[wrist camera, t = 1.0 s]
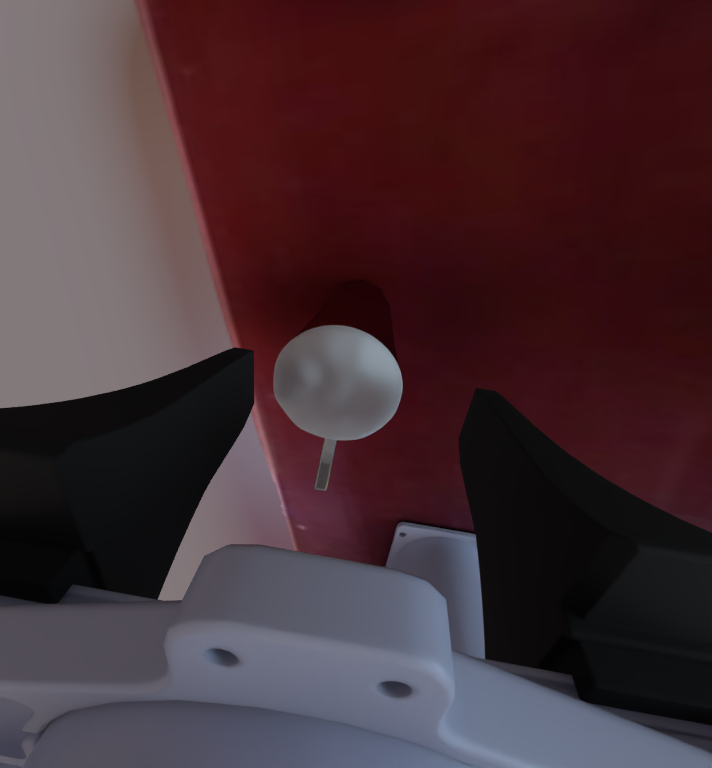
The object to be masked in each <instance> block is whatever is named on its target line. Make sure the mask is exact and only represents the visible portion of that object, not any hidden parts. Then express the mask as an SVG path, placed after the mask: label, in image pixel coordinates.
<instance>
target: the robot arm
mask: <svg viewBox="0 0 712 768" xmlns="http://www.w3.org/2000/svg"><path fill="white" fill-rule="evenodd" d="M253 405H254V351H253V350H247V349H241V348H232V349H229V350H226V351H224V352H221V353H219V354H217V355H214V356H212V357H210V358H208V359H205V360H203V361H201V362H198V363H196V364H194V365H191V366H189V367H187V368H184V369H181V370H179V371H176V372H174V373H171V374H168V375H166V376H163V377H160V378H158V379H155V380H152V381H149V382H146V383H142V384H140V385H136V386H132V387H129V388H125V389H121V390H118V391H113V392H109V393H103V394H99V395H95V396H90V397H85V398H80V399H74V400H68V401H62V402H55V403H48V404H40V405H32V406H24V407H12V408H0V768H712V533H710V532H708V531H706V530H704V529H701V528H699V527H697V526H694V525H692V524H690V523H688V522H685V521H683V520H681V519H679V518H677V517H675V516H673V515H671V514H669V513H667V512H665V511H663V510H661V509H659V508H657V507H655V506H653V505H651V504H649V503H647V502H645V501H643V500H641V499H640V498H638V497H636V496H634V495H632V494H630V493H629V492H627V491H625V490H624V489H622V488H620V487H619V486H617V485H615V484H613V483H612V482H610V481H608V480H607V479H605V478H603V477H602V476H600V475H599V474H597V473H596V472H594V471H593V470H591V469H590V468H588V467H587V466H585V465H584V464H582V463H581V462H580V461H578V460H577V459H575V458H574V457H572V456H571V455H570V454H568V453H567V452H566V451H564V450H563V449H562V448H561V447H559V446H558V445H557V444H556V443H554V442H553V441H552V440H551V439H549V438H548V437H547V436H546V435H545V434H543V433H542V432H541V431H540V430H539V429H538V428H537V427H535V426H534V425H533V424H532V423H531V422H530V421H529V420H528V419H527V418H525V417H524V416H523V415H522V414H521V413H520V412H519V411H518V410H517V409H516V408H515V407H513V406H512V405H511V404H510V403H509V402H508V401H507V400H506V399H505V398H503V397H502V396H501V395H500V394H499V393H497V392H496V391H492V390H486V389H480V388H476V390H475V393H474V396H473V399H472V401H471V404H470V407H469V410H468V413H467V416H466V418H465V421H464V424H463V427H462V430H461V433H460V436H459V454H460V465H461V470H462V475H463V480H464V484H465V489H466V493H467V498H468V502H469V506H470V511H471V515H472V520H473V524H474V530H475V534H472V533H466V532H460V531H455V530H449V529H443V528H437V527H431V526H426V525H420V524H414V523H408V522H400V523H398V524H397V527H396V530H395V534H394V538H393V541H392V545H391V548H390V552H389V555H388V559H387V563H386V566H385V567H382V566H377V565H371V564H365V563H360V562H354V561H349V560H343V559H337V558H332V557H326V556H320V555H315V554H309V553H304V552H298V551H292V550H286V549H281V548H275V547H269V546H264V545H241V544H239V545H238V544H231V545H227V546H224V547H222V548H220V549H218V550H216V551H214V552H212V553H210V554H208V555H206V556H204V558H203V560H202V562H201V564H200V566H199V568H198V570H197V572H196V574H195V576H194V578H193V580H192V582H191V584H190V586H189V588H188V590H187V592H186V594H185V596H184V598H183V600H177V601H162V600H158V597H159V594H160V592H161V589H162V587H163V584H164V582H165V579H166V577H167V575H168V572H169V570H170V567H171V565H172V563H173V560H174V558H175V555H176V553H177V551H178V548H179V546H180V544H181V542H182V539H183V537H184V535H185V533H186V530H187V528H188V526H189V523H190V521H191V519H192V517H193V515H194V513H195V511H196V509H197V507H198V505H199V502H200V500H201V498H202V496H203V494H204V492H205V490H206V488H207V486H208V485H209V483H210V481H211V479H212V478H213V476H214V475H215V473H216V471H217V469H218V468H219V467H220V465H221V463H222V462H223V460H224V458H225V457H226V455H227V454H228V452H229V450H230V449H231V447H232V446H233V444H234V443H235V441H236V439H237V438H238V436H239V434H240V433H241V431H242V429H243V428H244V426H245V423H246V421H247V419H248V417H249V414H250V412H251V409H252V407H253ZM401 532H403V533H401Z"/></svg>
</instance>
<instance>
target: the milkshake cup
mask: <svg viewBox="0 0 712 768" xmlns="http://www.w3.org/2000/svg"><path fill="white" fill-rule="evenodd" d="M273 387H274V395H275V398H276V400H277V402H278V403H279V405H280V406H281V407H282V409H283V410H284V411H285V412H286V414H287V415H288V417H289V418H290V419H291V420H292V421H293V423H294V424H295V425H296V426H298V427H299V428H301V429H302V430H304V431H306V432H309V433H311V434H314V435H317V436H320V437H323V438H325V439H324V444H323V448H322V453H321V458H320V462H319V467H318V472H317V476H316V481H315V486H314V488H315V489H317V490H323V491H326V490H327V488H328V483H329V478H330V473H331V468H332V463H333V458H334V453H335V448H336V443H337V440H355V439H360V438H364V437H366V436H368V435H370V434H372V433H374V432H376V431H377V430H379V429H380V428H382V427H383V426H384V425H385V424H386V423H387V422H388V421H389V420H390V419H391V418H392V417H393V415H394V414H395V412H396V410H397V408H398V405H399V402H400V399H401V395H402V389H403V383H402V376H401V372H400V368H399V363H398V358H397V353H396V348H395V341H394V334H393V326H392V319H391V312H390V306H389V304H388V302H387V300H386V298H385V296H384V294H383V292H382V290H381V289H380V288H378V287H376V286H374V285H372V284H370V283H368V282H366V281H364V280H360V281H354V282H347V283H343V284H342V285H341V286H340V288H339V289H338V290H337V291H336V292H335V293H334V294H333V295H332V296H331V297H330V298H329V299H328V300H327V302H326V303H325V304H324V305H323V307H322V308H321V309H320V310H319V312H318V313H317V314H316V315H315V316H314V318H313V319H311V320H310V321H309V322H308V323H307V324H306V325H305V326H304V327H303V329H302V330H301V331H300V332H299V333H298V334H297V335H296V336H295V337H294V338H293V339H292V340H291V341H290V342H289V343H288V344H287V345H286V346H285V347H284V348H283V350H282V351H281V352H280V354H279V356H278V358H277V361H276V364H275V368H274V379H273Z"/></svg>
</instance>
